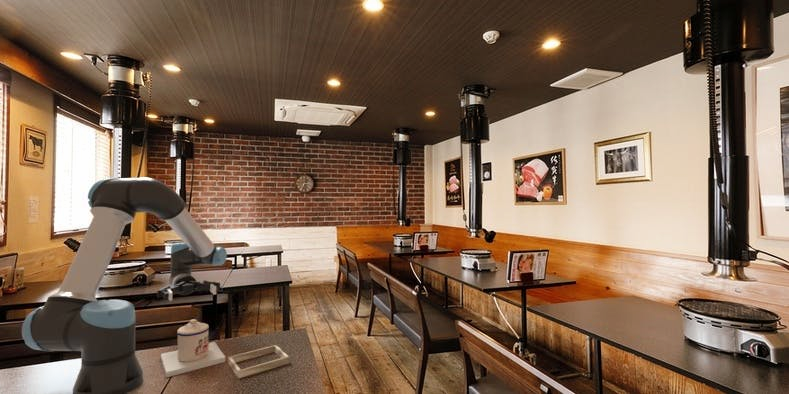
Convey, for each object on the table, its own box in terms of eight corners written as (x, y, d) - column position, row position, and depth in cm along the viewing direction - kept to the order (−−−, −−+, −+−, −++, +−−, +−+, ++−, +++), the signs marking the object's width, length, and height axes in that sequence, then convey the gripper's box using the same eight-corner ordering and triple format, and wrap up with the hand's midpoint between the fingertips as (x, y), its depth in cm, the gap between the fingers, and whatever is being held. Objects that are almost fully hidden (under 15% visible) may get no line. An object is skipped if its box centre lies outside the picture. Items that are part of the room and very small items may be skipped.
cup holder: (228, 363, 113) (228, 357, 113) (275, 350, 122) (275, 344, 122) (238, 378, 103) (238, 371, 103) (289, 363, 112) (289, 356, 113)
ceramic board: (160, 358, 117) (160, 353, 117) (214, 345, 127) (214, 341, 127) (166, 377, 104) (166, 372, 104) (225, 361, 114) (225, 357, 114)
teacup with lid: (199, 362, 110) (199, 325, 110) (170, 362, 110) (170, 325, 110) (219, 346, 122) (218, 312, 122) (192, 346, 122) (192, 312, 122)
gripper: (218, 288, 149) (231, 298, 133) (146, 298, 134) (150, 311, 117) (218, 270, 150) (231, 278, 133) (146, 278, 134) (151, 288, 118)
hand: (193, 293), depth 125 cm, fingers open, 13 cm apart
